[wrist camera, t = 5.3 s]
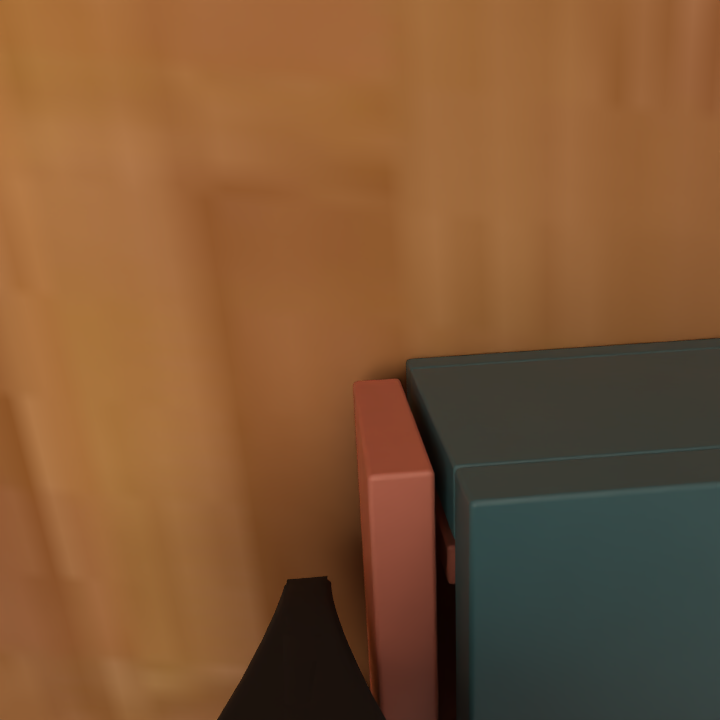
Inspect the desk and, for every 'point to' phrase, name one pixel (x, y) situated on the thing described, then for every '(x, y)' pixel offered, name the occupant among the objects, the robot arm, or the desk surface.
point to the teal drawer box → (580, 527)
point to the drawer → (404, 560)
